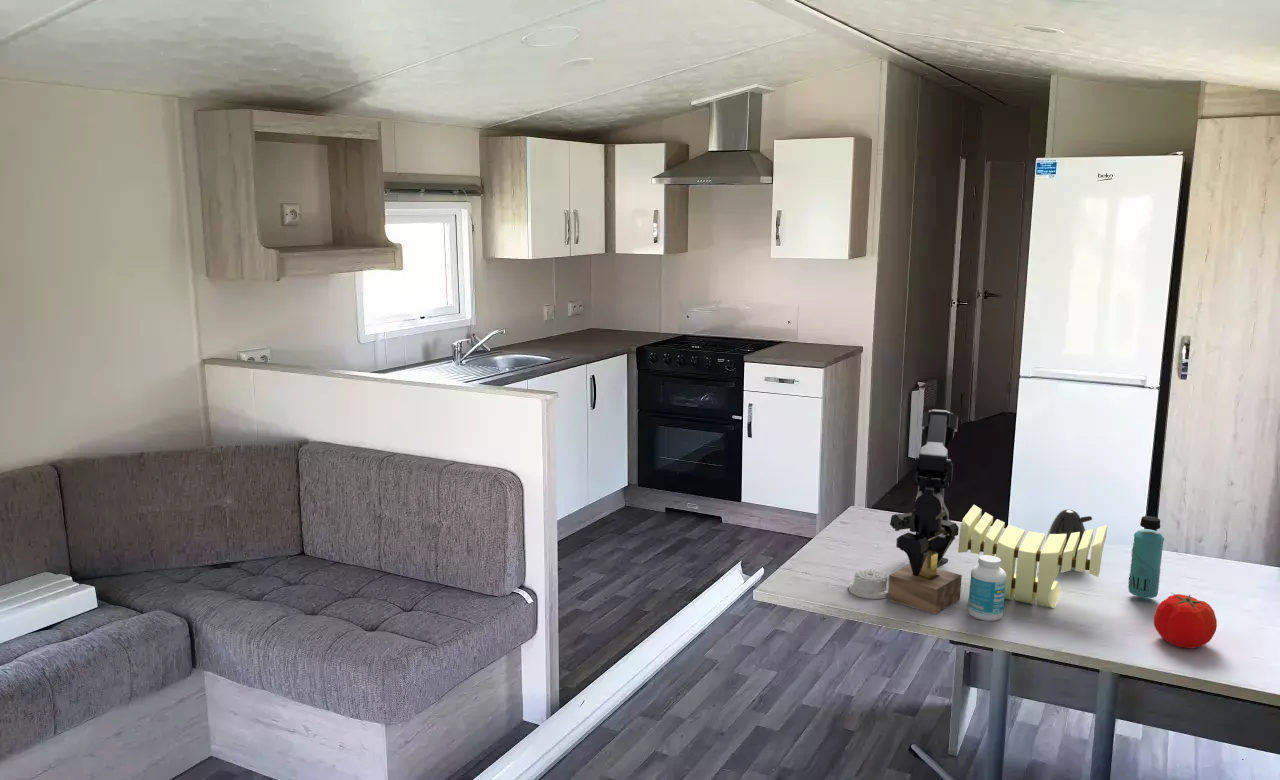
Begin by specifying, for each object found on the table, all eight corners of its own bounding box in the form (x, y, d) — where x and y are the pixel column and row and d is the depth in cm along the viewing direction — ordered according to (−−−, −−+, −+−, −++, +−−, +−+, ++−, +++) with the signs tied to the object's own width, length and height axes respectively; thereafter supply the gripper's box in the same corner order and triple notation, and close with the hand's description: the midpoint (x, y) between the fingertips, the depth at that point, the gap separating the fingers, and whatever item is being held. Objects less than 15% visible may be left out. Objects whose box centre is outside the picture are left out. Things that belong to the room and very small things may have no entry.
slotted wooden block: (913, 585, 234) (915, 561, 233) (960, 599, 226) (961, 575, 225) (887, 599, 226) (889, 574, 225) (935, 614, 218) (936, 589, 217)
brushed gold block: (919, 588, 228) (922, 548, 226) (935, 593, 225) (937, 553, 224) (913, 592, 226) (915, 551, 224) (928, 597, 223) (931, 556, 222)
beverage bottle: (1155, 595, 229) (1164, 514, 225) (1160, 606, 223) (1169, 523, 219) (1124, 591, 231) (1133, 511, 227) (1128, 602, 225) (1137, 520, 221)
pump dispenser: (1084, 577, 240) (1089, 518, 237) (1039, 569, 246) (1044, 511, 243) (1089, 564, 249) (1095, 508, 246) (1046, 557, 254) (1051, 501, 251)
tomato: (1146, 628, 211) (1151, 583, 209) (1205, 634, 208) (1211, 589, 206) (1158, 651, 200) (1163, 604, 198) (1220, 659, 197) (1227, 611, 195)
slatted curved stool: (955, 593, 229) (960, 522, 226) (969, 572, 243) (974, 504, 240) (1093, 620, 215) (1101, 544, 212) (1100, 596, 228) (1107, 524, 225)
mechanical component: (848, 598, 227) (892, 601, 225) (849, 580, 226) (893, 584, 224) (848, 582, 237) (890, 585, 235) (849, 565, 236) (891, 568, 234)
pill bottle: (998, 625, 212) (1003, 566, 210) (964, 617, 216) (968, 560, 214) (1006, 613, 219) (1010, 556, 216) (972, 606, 222) (976, 550, 220)
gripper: (918, 490, 234) (914, 552, 237) (877, 507, 221) (873, 571, 224) (961, 500, 226) (957, 563, 229) (922, 518, 213) (917, 585, 216)
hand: (925, 570), depth 225 cm, fingers open, 9 cm apart
